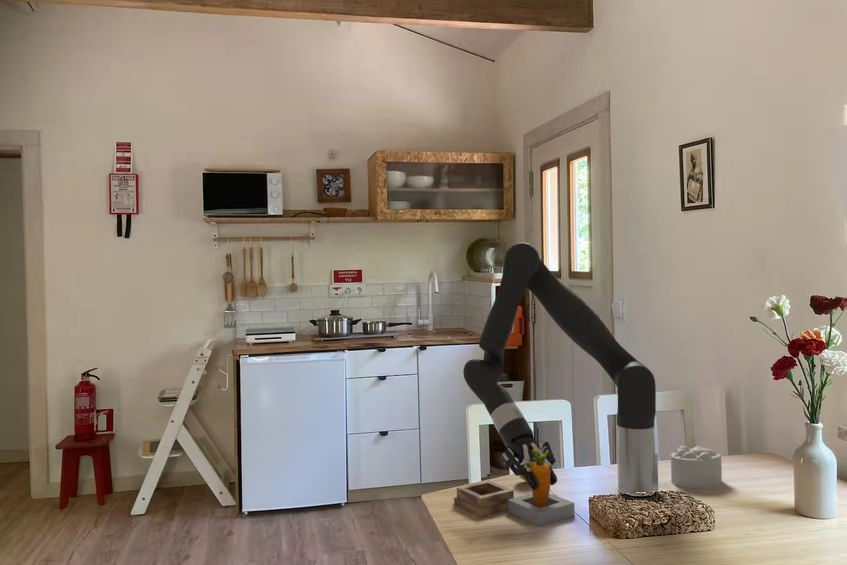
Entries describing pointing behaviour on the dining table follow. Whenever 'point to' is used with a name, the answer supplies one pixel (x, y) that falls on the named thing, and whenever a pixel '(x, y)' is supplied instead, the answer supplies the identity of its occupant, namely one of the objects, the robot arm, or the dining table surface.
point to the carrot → (541, 478)
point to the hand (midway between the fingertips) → (545, 485)
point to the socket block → (541, 509)
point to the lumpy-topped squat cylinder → (695, 467)
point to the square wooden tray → (483, 497)
